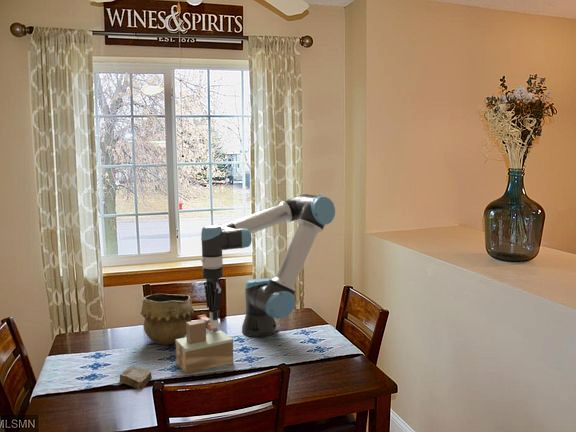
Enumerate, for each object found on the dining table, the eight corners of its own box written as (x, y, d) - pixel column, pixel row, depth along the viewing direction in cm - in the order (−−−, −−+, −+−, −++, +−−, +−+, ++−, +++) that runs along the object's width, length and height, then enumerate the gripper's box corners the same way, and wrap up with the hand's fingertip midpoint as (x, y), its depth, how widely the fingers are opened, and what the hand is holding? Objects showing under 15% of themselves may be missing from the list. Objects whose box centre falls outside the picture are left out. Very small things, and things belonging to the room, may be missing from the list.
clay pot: (161, 331, 215) (159, 286, 213) (204, 337, 208) (202, 290, 206) (130, 348, 196) (128, 299, 194) (177, 355, 189) (175, 304, 187)
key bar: (197, 323, 198) (197, 315, 198) (205, 322, 200) (205, 314, 199) (209, 332, 188) (209, 324, 188) (217, 330, 190) (216, 322, 189)
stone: (112, 379, 169) (112, 370, 169) (133, 371, 176) (132, 362, 176) (139, 391, 161) (139, 382, 160) (160, 381, 167) (160, 373, 167)
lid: (175, 342, 181) (174, 320, 180) (220, 332, 190) (220, 312, 189) (185, 351, 172) (185, 329, 171) (233, 341, 181) (232, 320, 180)
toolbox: (176, 362, 182) (175, 342, 181) (221, 352, 191) (220, 332, 190) (186, 373, 173) (185, 351, 172) (233, 362, 182) (233, 341, 181)
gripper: (196, 265, 189) (198, 324, 192) (209, 271, 178) (211, 334, 181) (214, 262, 193) (216, 321, 196) (228, 268, 182) (230, 330, 185)
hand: (214, 327), depth 188 cm, fingers closed
